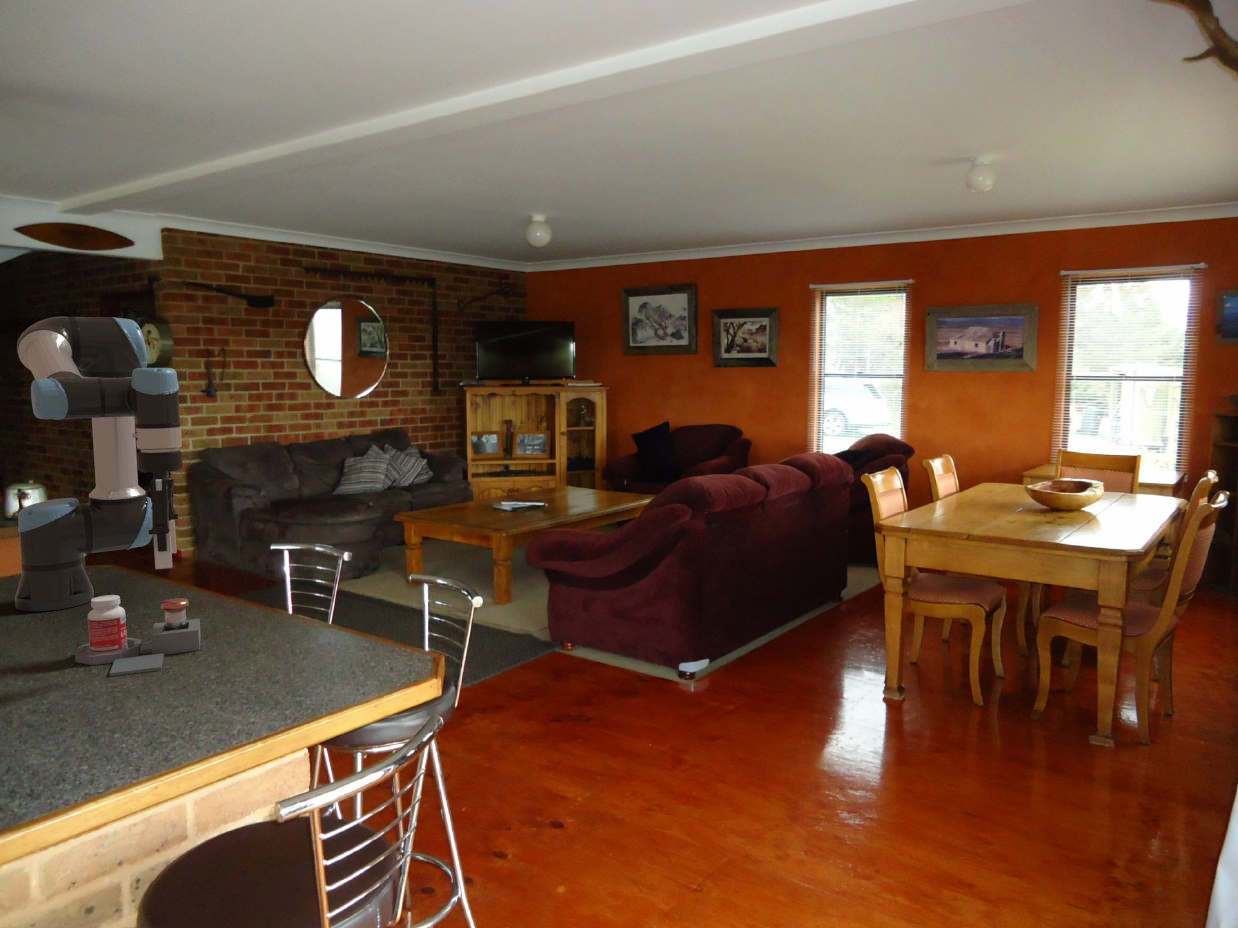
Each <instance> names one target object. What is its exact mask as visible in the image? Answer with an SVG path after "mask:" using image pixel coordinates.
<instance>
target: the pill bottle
mask: <svg viewBox="0 0 1238 928" xmlns="http://www.w3.org/2000/svg"><path fill="white" fill-rule="evenodd" d="M120 604H121V597H120V596H119V595H117V594H106V595H99V596H96V597H95V596H94V598H93V599H91V601H90V606H91V608H92V609H91V610H90V611H89V612H88V614H87V623H88V624H87V627H88V641H89V642H88V643H90V653H89V654H94V655H96V654H105V653H113V652H118V651H121V650H124V649H127V648H128V645H127V637H128V635H127V634H128V633H127V631H128V630H127V620H126V619H127V618H126V611H125V608H124V607H122V606H120Z"/></svg>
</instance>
